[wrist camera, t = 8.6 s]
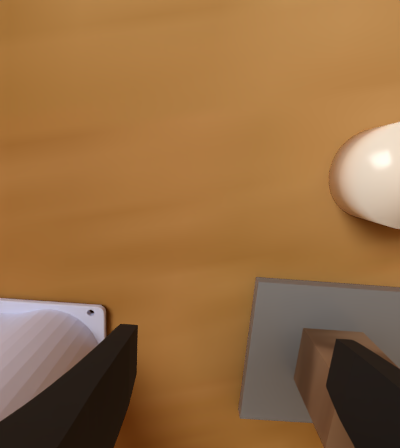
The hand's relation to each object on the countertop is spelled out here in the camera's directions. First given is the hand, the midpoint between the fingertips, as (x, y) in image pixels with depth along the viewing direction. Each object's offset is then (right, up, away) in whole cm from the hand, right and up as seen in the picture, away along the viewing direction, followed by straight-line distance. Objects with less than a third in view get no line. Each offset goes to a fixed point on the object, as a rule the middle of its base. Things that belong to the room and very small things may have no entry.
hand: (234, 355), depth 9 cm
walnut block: (+9, -5, +10) cm, 14 cm away
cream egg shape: (+11, +8, +8) cm, 16 cm away
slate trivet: (+8, -5, +11) cm, 15 cm away
